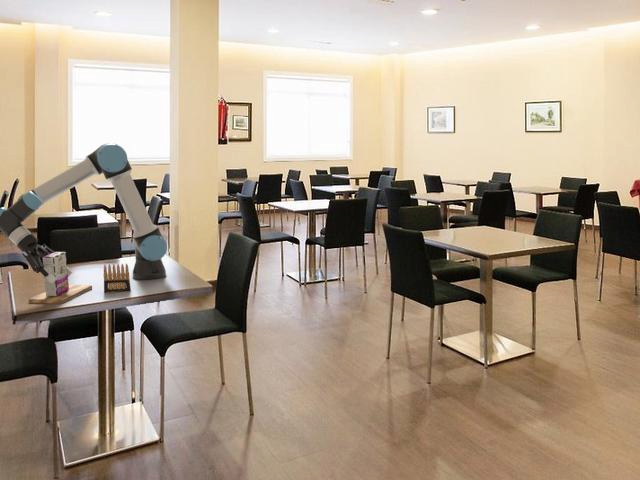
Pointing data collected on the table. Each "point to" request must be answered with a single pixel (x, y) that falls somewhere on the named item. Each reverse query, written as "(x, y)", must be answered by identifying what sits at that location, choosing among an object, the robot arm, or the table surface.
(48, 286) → the candy bar box
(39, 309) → the table surface
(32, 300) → the oak board
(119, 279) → the ammunition clip
